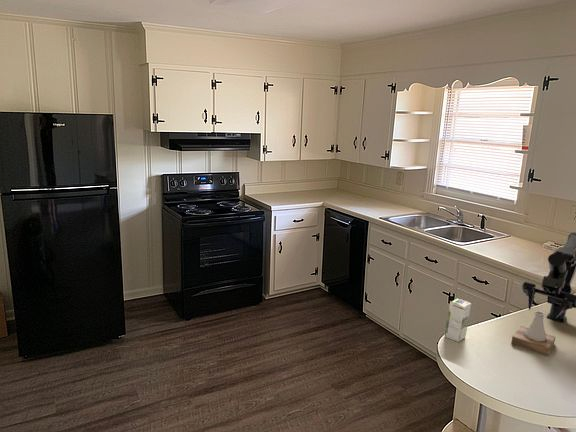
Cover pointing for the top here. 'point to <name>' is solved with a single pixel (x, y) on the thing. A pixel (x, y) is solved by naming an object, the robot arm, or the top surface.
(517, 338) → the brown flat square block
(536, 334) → the flask
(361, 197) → the top surface
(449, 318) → the syrup box
